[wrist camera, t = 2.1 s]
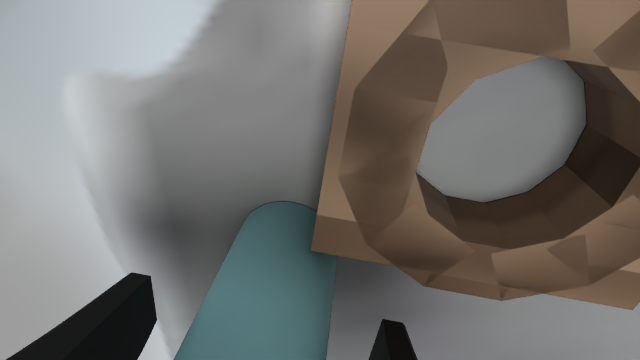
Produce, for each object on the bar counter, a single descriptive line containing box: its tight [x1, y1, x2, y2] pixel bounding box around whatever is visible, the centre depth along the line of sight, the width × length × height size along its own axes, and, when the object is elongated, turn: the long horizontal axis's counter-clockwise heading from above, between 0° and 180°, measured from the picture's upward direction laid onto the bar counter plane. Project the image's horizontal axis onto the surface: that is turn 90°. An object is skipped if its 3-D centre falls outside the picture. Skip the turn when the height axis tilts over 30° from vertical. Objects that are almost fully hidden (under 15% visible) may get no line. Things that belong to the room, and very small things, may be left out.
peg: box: [174, 202, 337, 360], centre depth 11 cm, size 4×4×8 cm
